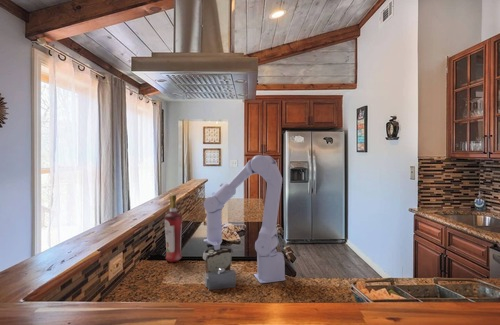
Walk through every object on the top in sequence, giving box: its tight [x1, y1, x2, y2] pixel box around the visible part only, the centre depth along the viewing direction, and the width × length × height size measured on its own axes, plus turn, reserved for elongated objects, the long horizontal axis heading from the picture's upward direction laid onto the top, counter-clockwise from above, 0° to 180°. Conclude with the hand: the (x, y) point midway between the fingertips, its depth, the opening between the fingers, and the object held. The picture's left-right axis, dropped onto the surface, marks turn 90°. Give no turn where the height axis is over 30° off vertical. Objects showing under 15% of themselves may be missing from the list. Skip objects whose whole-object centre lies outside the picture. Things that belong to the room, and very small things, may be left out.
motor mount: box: [203, 268, 237, 291], centre depth 100 cm, size 10×7×6 cm
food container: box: [202, 245, 234, 273], centre depth 107 cm, size 12×6×10 cm, turn 132°
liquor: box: [164, 194, 183, 263], centre depth 124 cm, size 7×7×28 cm
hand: (214, 263), depth 112 cm, fingers closed
